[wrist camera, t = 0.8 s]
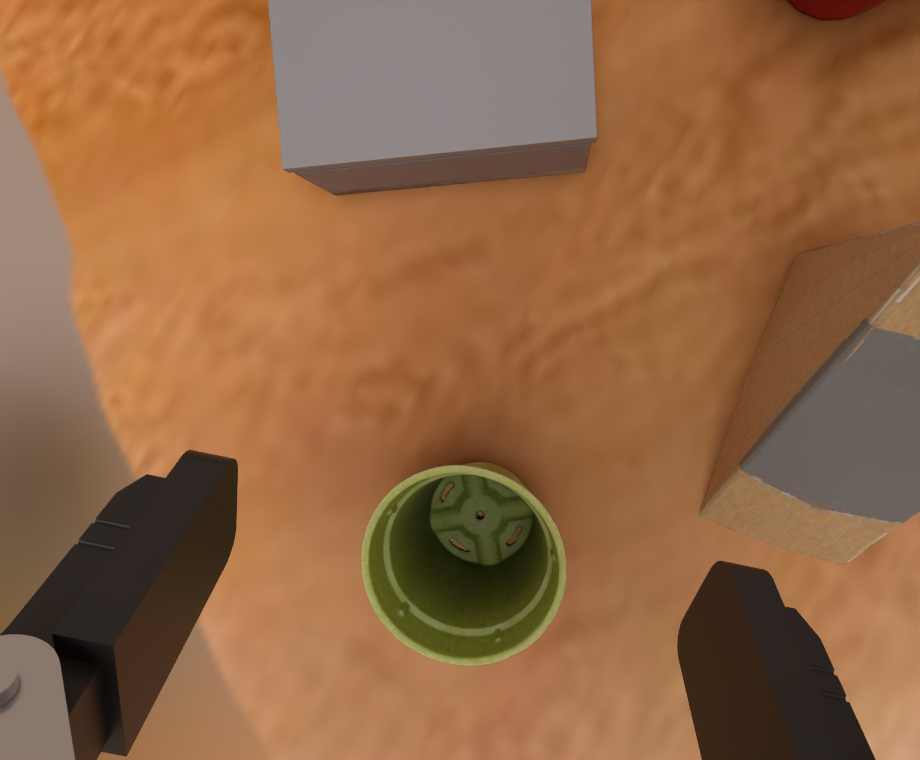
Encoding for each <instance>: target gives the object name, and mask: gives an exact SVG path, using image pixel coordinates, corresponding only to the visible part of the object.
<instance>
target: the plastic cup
mask: <svg viewBox="0 0 920 760" xmlns="http://www.w3.org/2000/svg"><path fill="white" fill-rule="evenodd" d="M789 1H790V2H791V3H792V4H793V5H794V6H795V7H796V8H797V9H798V10H799V11H800V12H802V13H805V14H808V15H810V16H813V17H815V18H818V19H845V18H847V17H852V16H854V15H857V14H859V13H861V12H864V11H866V10H868V9H871V8H873V7H875V6H877V5H879V4H880V3H882V2H884V1H885V0H789Z"/></svg>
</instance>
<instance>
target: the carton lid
mask: <svg viewBox="0 0 920 760" xmlns="http://www.w3.org/2000/svg"><path fill="white" fill-rule="evenodd" d="M268 5H269V16H270V28H271V40H272V51H273V63H274V75H275V86H276V98H277V110H278V121H279V133H280V145H281V156H282V168H283V170H285V171H287V172H289V173H292V172H302V171H312V170H322V169H332V168H341V167H351V166H361V165H371V164H381V163H391V162H401V161H411V160H421V159H431V158H441V157H451V156H461V155H471V154H481V153H491V152H501V151H510V150H520V149H530V148H540V147H550V146H560V145H570V144H580V143H590V142H596V139H597V130H596V107H595V84H594V60H593V37H592V14H591V0H268Z"/></svg>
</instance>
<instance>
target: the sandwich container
mask: <svg viewBox="0 0 920 760" xmlns="http://www.w3.org/2000/svg"><path fill="white" fill-rule="evenodd" d="M918 512H920V222H918V223H914V224H910V225H907V226H903V227H899V228H895V229H891V230H887V231H884V232H880V233H876V234H872V235H868V236H864V237H860V238H857V239H853V240H849V241H845V242H841V243H838V244H834V245H830V246H826V247H822V248H819V249H815V250H811V251H807V252H804V253H800V254H799V255H797V256H796V257H795V259H794V262H793V264H792V267H791V269H790V271H789V274H788V276H787V279H786V281H785V284H784V286H783V288H782V291H781V293H780V296H779V298H778V300H777V303H776V305H775V308H774V310H773V313H772V315H771V317H770V320H769V322H768V325H767V327H766V330H765V332H764V334H763V337H762V339H761V342H760V344H759V347H758V349H757V351H756V354H755V356H754V359H753V361H752V364H751V367H750V370H749V373H748V376H747V378H746V381H745V384H744V387H743V390H742V393H741V395H740V398H739V401H738V404H737V407H736V410H735V413H734V415H733V418H732V421H731V424H730V427H729V430H728V433H727V435H726V438H725V441H724V444H723V447H722V450H721V453H720V455H719V458H718V461H717V464H716V467H715V470H714V473H713V475H712V478H711V481H710V484H709V487H708V490H707V493H706V495H705V498H704V501H703V504H702V507H701V510H700V513H699V516H700V517H701V518H703V519H705V520H708V521H711V522H713V523H716V524H719V525H721V526H724V527H726V528H729V529H732V530H734V531H737V532H740V533H742V534H745V535H748V536H750V537H753V538H756V539H758V540H761V541H764V542H766V543H769V544H772V545H775V546H779V547H782V548H785V549H789V550H792V551H795V552H799V553H802V554H805V555H808V556H812V557H815V558H818V559H822V560H825V561H828V562H832V563H835V564H838V565H845V564H847V563H848V562H849V561H851V560H852V559H854V558H855V557H856V556H858V555H859V554H861V553H862V552H863V551H865V550H866V549H868V548H869V547H870V546H872V545H873V544H874V543H876V542H877V541H879V540H880V539H881V538H883V537H884V536H886V535H887V534H888V533H890V532H891V531H893V530H894V529H895V528H897V527H898V526H900V525H901V524H902V523H904V522H905V521H907V520H908V519H909V518H911V517H912V516H914V515H915V514H917V513H918Z"/></svg>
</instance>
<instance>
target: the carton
mask: <svg viewBox="0 0 920 760" xmlns="http://www.w3.org/2000/svg"><path fill="white" fill-rule="evenodd" d="M589 148H590V143H580V144H570V145H560V146H550V147H540V148H530V149H520V150H510V151H501V152H491V153H481V154H471V155H461V156H451V157H441V158H431V159H421V160H411V161H401V162H391V163H381V164H371V165H361V166H351V167H341V168H332V169H322V170H312V171H302V172H295V174H297V175H298V176H300V177H302V178H304V179H306V180H308V181H310V182H312V183H314V184H315V185H317V186H319V187H321V188H323V189H325V190H327V191H329V192H331V193H332V194H334V195H345V194H355V193H366V192H377V191H387V190H398V189H409V188H419V187H430V186H440V185H451V184H462V183H472V182H483V181H493V180H504V179H515V178H525V177H536V176H547V175H557V174H568V173H578V172H585V168H586V163H587V158H588V153H589Z"/></svg>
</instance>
